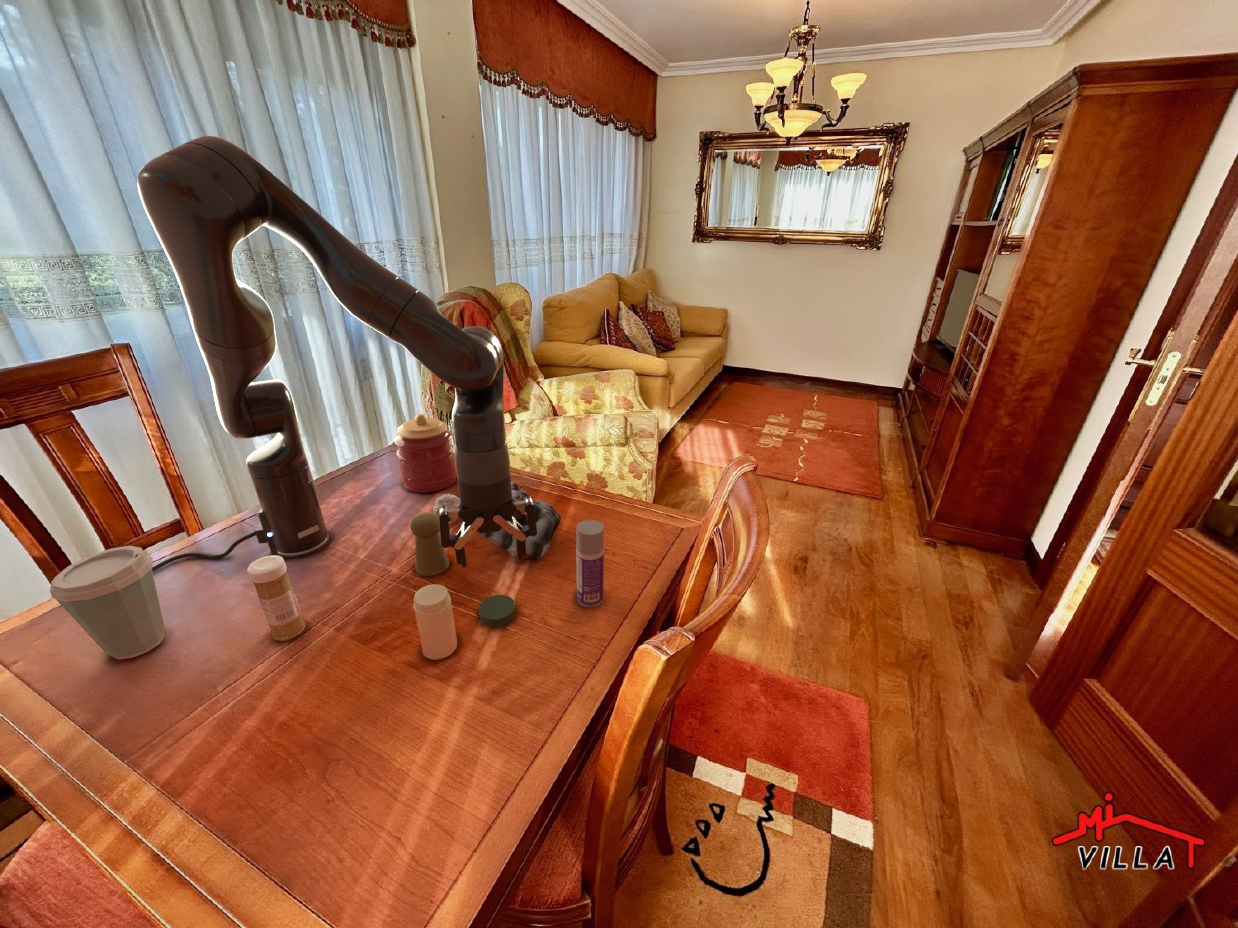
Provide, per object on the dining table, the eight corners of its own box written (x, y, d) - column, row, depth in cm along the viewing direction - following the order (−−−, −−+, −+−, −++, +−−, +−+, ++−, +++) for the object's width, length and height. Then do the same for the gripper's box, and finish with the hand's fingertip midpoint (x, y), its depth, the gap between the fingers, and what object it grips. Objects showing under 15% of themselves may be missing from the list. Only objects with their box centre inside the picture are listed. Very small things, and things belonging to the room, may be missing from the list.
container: (607, 594, 89) (609, 523, 83) (595, 610, 85) (596, 538, 79) (584, 586, 91) (584, 516, 84) (571, 602, 87) (570, 530, 81)
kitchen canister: (391, 490, 120) (377, 422, 112) (419, 466, 131) (409, 403, 123) (442, 496, 118) (432, 427, 110) (466, 471, 129) (458, 407, 121)
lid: (513, 599, 87) (513, 592, 87) (517, 623, 82) (516, 615, 82) (478, 605, 86) (477, 597, 85) (480, 630, 81) (479, 622, 80)
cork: (438, 578, 92) (430, 528, 87) (409, 572, 93) (399, 523, 88) (455, 558, 97) (448, 510, 92) (426, 553, 98) (418, 505, 93)
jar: (421, 662, 75) (410, 609, 70) (423, 637, 79) (413, 585, 74) (457, 655, 76) (449, 603, 71) (457, 631, 80) (449, 580, 76)
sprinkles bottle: (306, 617, 82) (284, 550, 76) (304, 636, 78) (281, 568, 72) (274, 626, 80) (248, 558, 74) (270, 646, 76) (243, 576, 70)
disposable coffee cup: (79, 681, 70) (25, 598, 63) (106, 629, 78) (61, 552, 72) (175, 655, 74) (134, 575, 68) (190, 609, 83) (156, 534, 76)
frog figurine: (434, 531, 105) (429, 503, 102) (436, 514, 111) (432, 486, 108) (464, 528, 106) (460, 500, 103) (465, 511, 112) (461, 484, 109)
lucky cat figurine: (537, 570, 94) (495, 518, 88) (494, 570, 101) (452, 522, 95) (571, 514, 104) (536, 464, 98) (531, 518, 111) (495, 471, 105)
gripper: (430, 488, 67) (445, 582, 74) (536, 477, 71) (540, 568, 78) (432, 463, 73) (445, 553, 81) (529, 454, 77) (534, 540, 85)
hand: (492, 560), depth 80 cm, fingers open, 8 cm apart
